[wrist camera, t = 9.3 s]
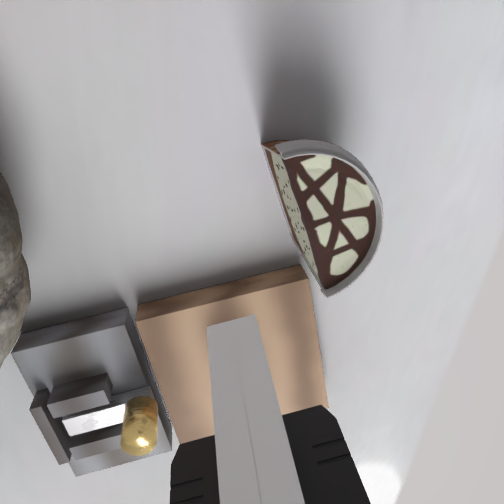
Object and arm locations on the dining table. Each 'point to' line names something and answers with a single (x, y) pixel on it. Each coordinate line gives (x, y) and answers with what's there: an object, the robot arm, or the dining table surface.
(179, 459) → the robot arm
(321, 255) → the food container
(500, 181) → the dining table surface
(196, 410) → the door board
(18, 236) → the gourd
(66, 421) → the bolt
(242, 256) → the dining table surface
